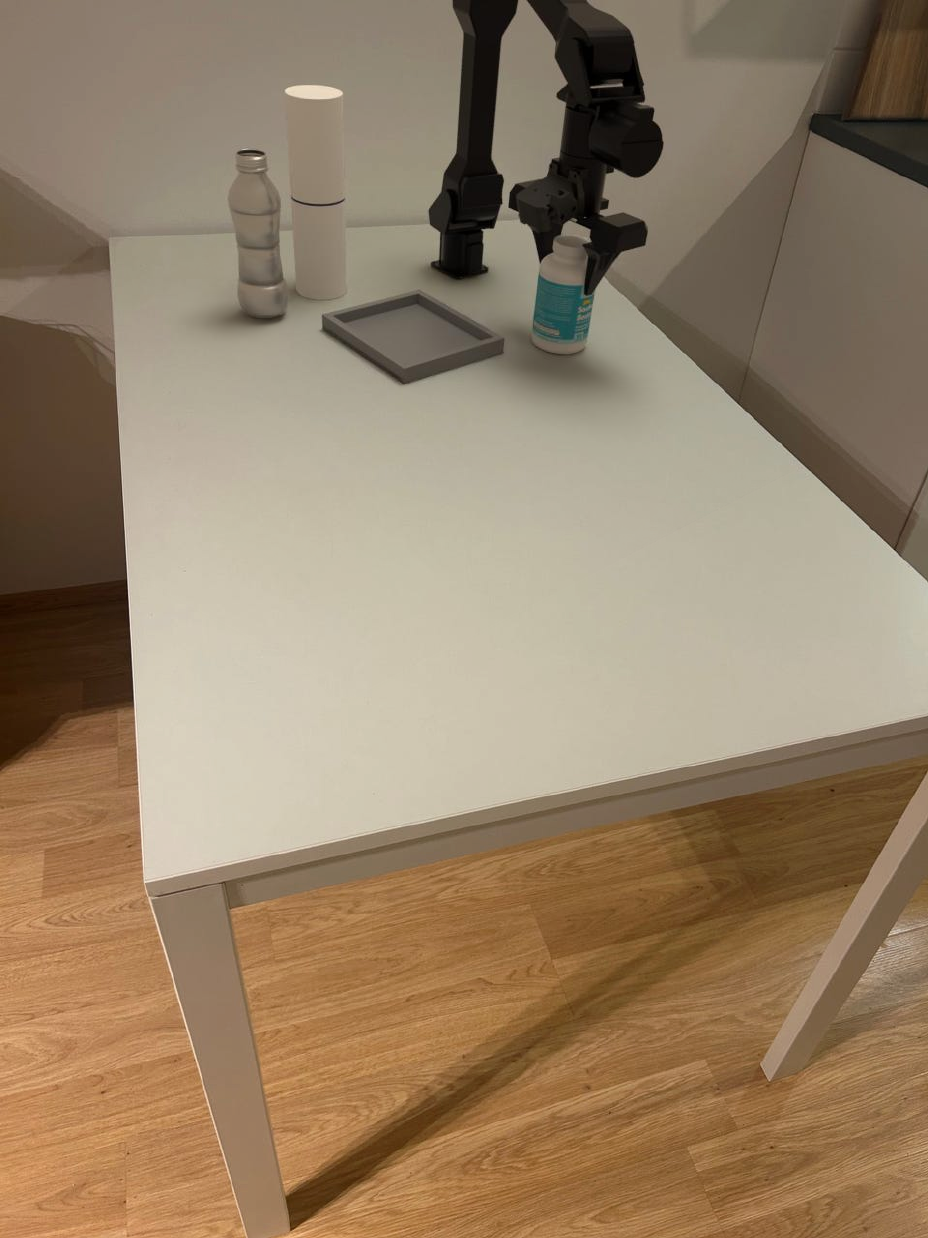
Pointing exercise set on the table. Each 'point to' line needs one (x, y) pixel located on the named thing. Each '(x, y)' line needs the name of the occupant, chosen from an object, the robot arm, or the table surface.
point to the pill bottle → (562, 298)
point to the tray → (412, 335)
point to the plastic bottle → (257, 236)
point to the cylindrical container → (317, 189)
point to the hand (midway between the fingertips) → (566, 284)
